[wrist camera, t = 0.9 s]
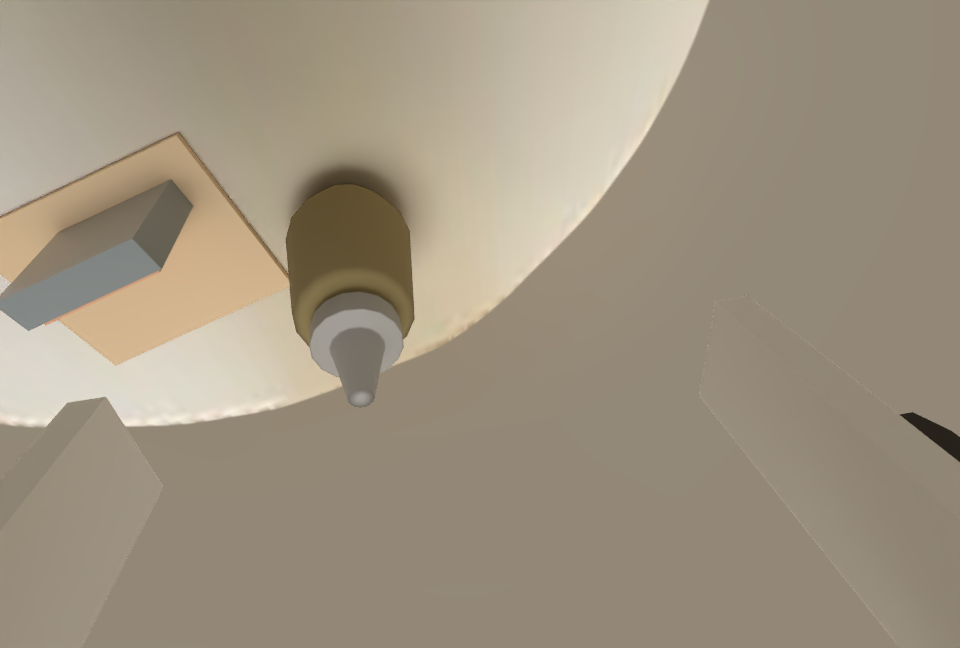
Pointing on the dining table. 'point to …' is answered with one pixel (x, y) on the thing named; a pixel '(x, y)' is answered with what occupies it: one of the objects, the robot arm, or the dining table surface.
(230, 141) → the dining table surface
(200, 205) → the mat
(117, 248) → the tile
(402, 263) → the squeeze bottle
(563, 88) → the dining table surface
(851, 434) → the robot arm
